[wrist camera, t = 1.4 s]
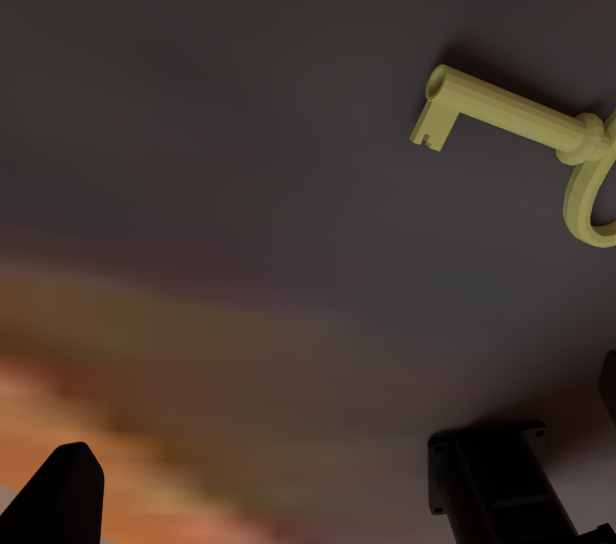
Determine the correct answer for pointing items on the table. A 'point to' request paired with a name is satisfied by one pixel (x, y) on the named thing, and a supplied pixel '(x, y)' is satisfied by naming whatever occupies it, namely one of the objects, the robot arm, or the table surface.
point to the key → (534, 125)
